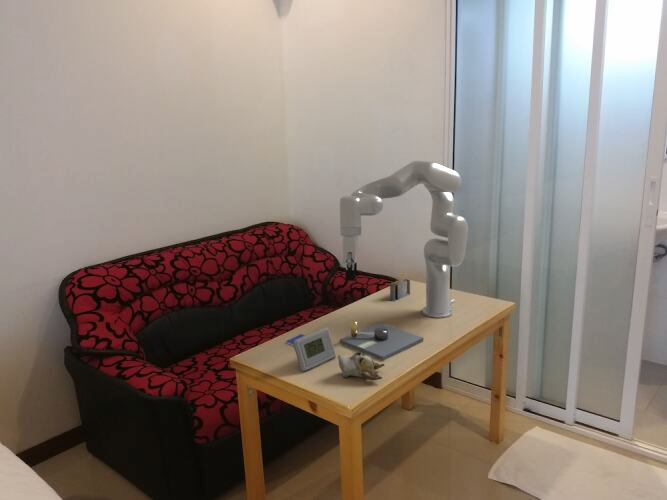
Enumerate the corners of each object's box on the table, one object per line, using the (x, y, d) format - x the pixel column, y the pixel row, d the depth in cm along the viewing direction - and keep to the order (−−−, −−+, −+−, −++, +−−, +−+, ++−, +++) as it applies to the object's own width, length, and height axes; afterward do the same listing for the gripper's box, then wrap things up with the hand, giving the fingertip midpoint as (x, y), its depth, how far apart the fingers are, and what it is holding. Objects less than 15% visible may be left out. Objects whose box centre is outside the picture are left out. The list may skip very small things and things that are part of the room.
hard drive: (286, 340, 210) (308, 349, 202) (302, 333, 216) (324, 342, 208) (286, 344, 211) (309, 353, 202) (302, 337, 216) (324, 345, 208)
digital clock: (301, 374, 186) (299, 344, 183) (288, 364, 193) (286, 336, 190) (341, 360, 194) (340, 332, 191) (327, 352, 201) (326, 324, 199)
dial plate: (379, 326, 223) (379, 321, 222) (423, 341, 207) (423, 336, 207) (339, 342, 208) (339, 338, 208) (383, 360, 193) (383, 355, 192)
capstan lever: (388, 335, 209) (387, 319, 208) (387, 340, 205) (387, 324, 203) (351, 334, 211) (351, 319, 210) (350, 339, 206) (350, 324, 205)
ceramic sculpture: (340, 343, 187) (385, 347, 184) (340, 367, 189) (384, 371, 187) (335, 357, 177) (382, 362, 174) (334, 382, 179) (381, 387, 177)
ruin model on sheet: (395, 302, 250) (395, 281, 247) (390, 300, 252) (390, 280, 250) (410, 295, 258) (410, 275, 255) (405, 294, 260) (405, 274, 257)
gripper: (342, 226, 209) (343, 270, 213) (337, 236, 192) (338, 283, 196) (362, 226, 208) (363, 270, 212) (359, 236, 191) (360, 283, 195)
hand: (351, 276), depth 204 cm, fingers open, 9 cm apart
